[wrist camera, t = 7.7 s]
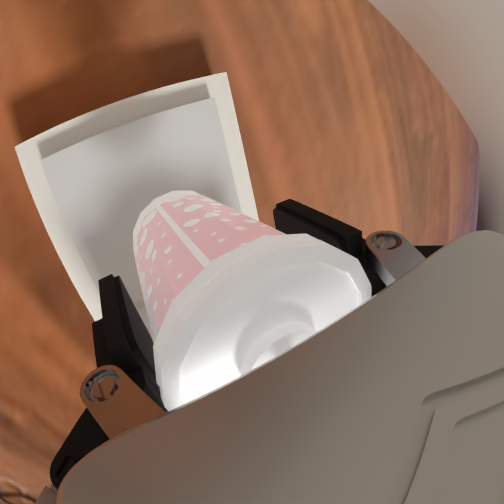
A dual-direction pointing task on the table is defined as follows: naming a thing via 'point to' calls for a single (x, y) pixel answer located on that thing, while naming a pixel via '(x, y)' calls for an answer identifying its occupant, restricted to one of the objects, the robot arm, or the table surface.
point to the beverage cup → (232, 291)
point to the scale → (132, 175)
